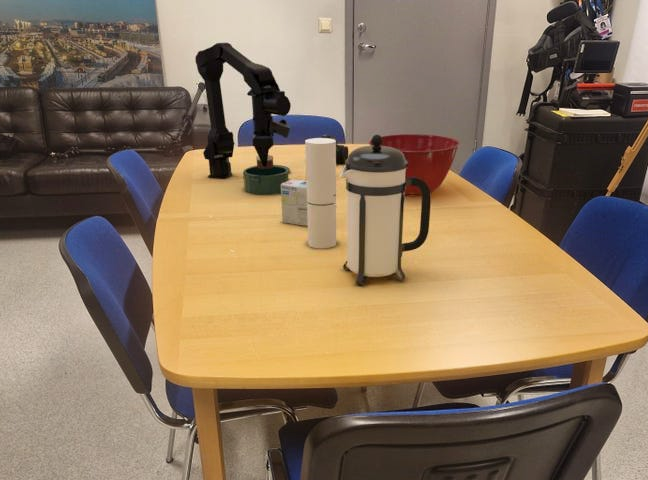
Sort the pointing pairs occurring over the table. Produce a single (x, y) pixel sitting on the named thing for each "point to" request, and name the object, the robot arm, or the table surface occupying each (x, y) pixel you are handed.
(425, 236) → the coffee press
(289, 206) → the light bulb box
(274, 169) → the pot
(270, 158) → the cake
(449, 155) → the mixing bowl
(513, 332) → the table surface
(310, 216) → the cylindrical container
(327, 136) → the film camera
